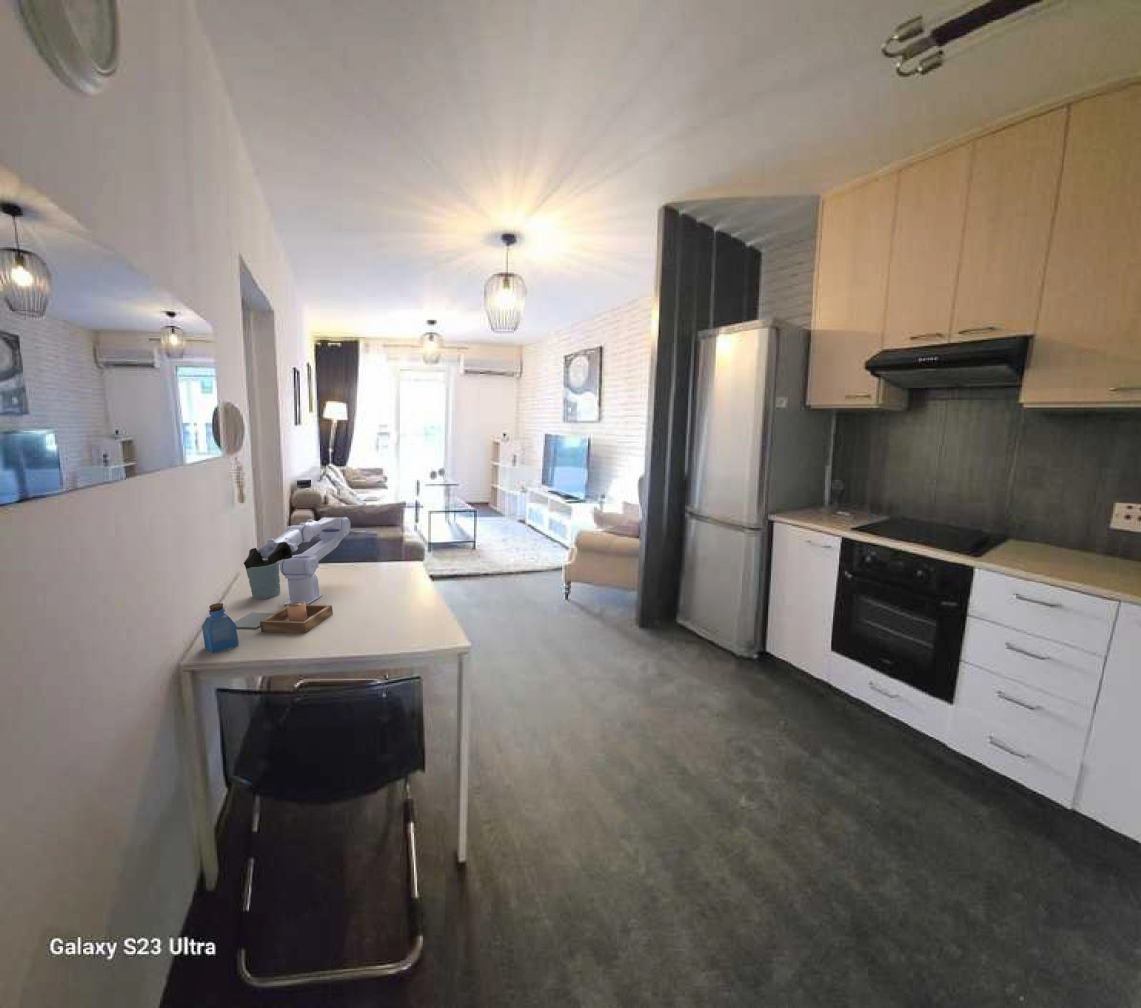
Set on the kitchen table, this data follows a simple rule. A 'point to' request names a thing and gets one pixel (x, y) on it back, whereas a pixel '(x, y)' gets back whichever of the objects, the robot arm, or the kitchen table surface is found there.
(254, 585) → the green pot
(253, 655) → the kitchen table surface
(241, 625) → the slate mat
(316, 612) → the wooden square frame
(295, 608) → the terracotta pot
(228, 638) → the perfume bottle
